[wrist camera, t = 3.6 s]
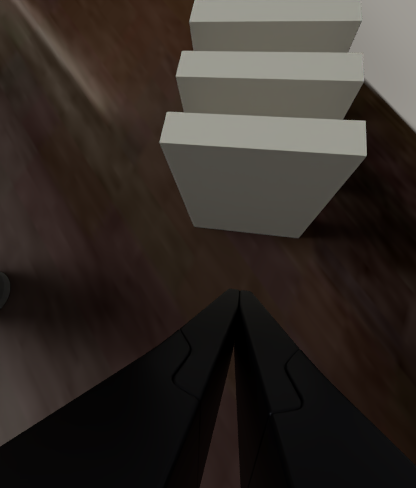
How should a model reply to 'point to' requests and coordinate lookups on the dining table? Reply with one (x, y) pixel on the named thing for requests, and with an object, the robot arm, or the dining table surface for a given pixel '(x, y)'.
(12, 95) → the dining table surface
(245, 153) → the domino
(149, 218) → the dining table surface
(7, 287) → the beverage cup
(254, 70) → the domino
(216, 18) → the domino
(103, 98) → the dining table surface
